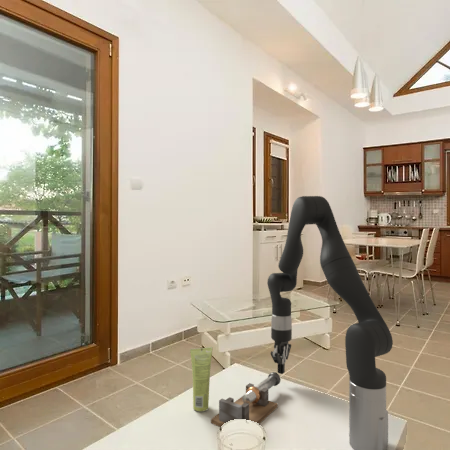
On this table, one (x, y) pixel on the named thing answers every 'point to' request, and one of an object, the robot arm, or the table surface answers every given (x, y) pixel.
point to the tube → (201, 377)
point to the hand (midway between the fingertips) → (281, 372)
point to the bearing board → (253, 412)
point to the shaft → (260, 388)
